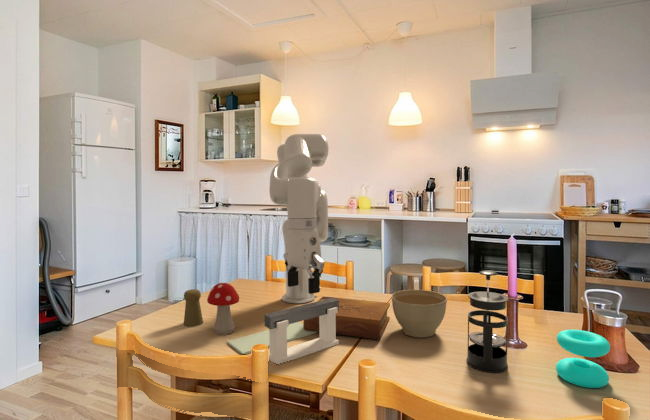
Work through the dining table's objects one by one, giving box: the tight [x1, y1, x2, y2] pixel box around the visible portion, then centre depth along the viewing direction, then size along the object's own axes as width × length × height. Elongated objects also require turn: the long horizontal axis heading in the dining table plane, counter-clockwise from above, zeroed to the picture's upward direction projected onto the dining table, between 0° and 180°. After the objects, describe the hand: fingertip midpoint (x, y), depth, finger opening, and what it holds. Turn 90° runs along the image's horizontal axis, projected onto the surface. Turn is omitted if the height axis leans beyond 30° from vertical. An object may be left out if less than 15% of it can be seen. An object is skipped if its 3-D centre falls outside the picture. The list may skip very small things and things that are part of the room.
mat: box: [226, 322, 318, 355], centre depth 113 cm, size 24×10×1 cm, turn 128°
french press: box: [466, 270, 509, 374], centre depth 94 cm, size 12×9×23 cm
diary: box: [303, 296, 391, 341], centre depth 122 cm, size 23×19×6 cm
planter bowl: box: [390, 289, 448, 338], centre depth 116 cm, size 16×16×11 cm
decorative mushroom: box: [206, 282, 240, 335], centre depth 118 cm, size 10×9×15 cm
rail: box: [263, 297, 339, 330], centre depth 104 cm, size 22×3×3 cm, turn 128°
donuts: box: [555, 328, 611, 389], centre depth 87 cm, size 10×10×10 cm
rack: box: [268, 307, 340, 365], centre depth 104 cm, size 20×5×10 cm, turn 128°
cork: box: [183, 288, 204, 328], centre depth 126 cm, size 6×6×11 cm
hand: (303, 289), depth 103 cm, fingers open, 9 cm apart
